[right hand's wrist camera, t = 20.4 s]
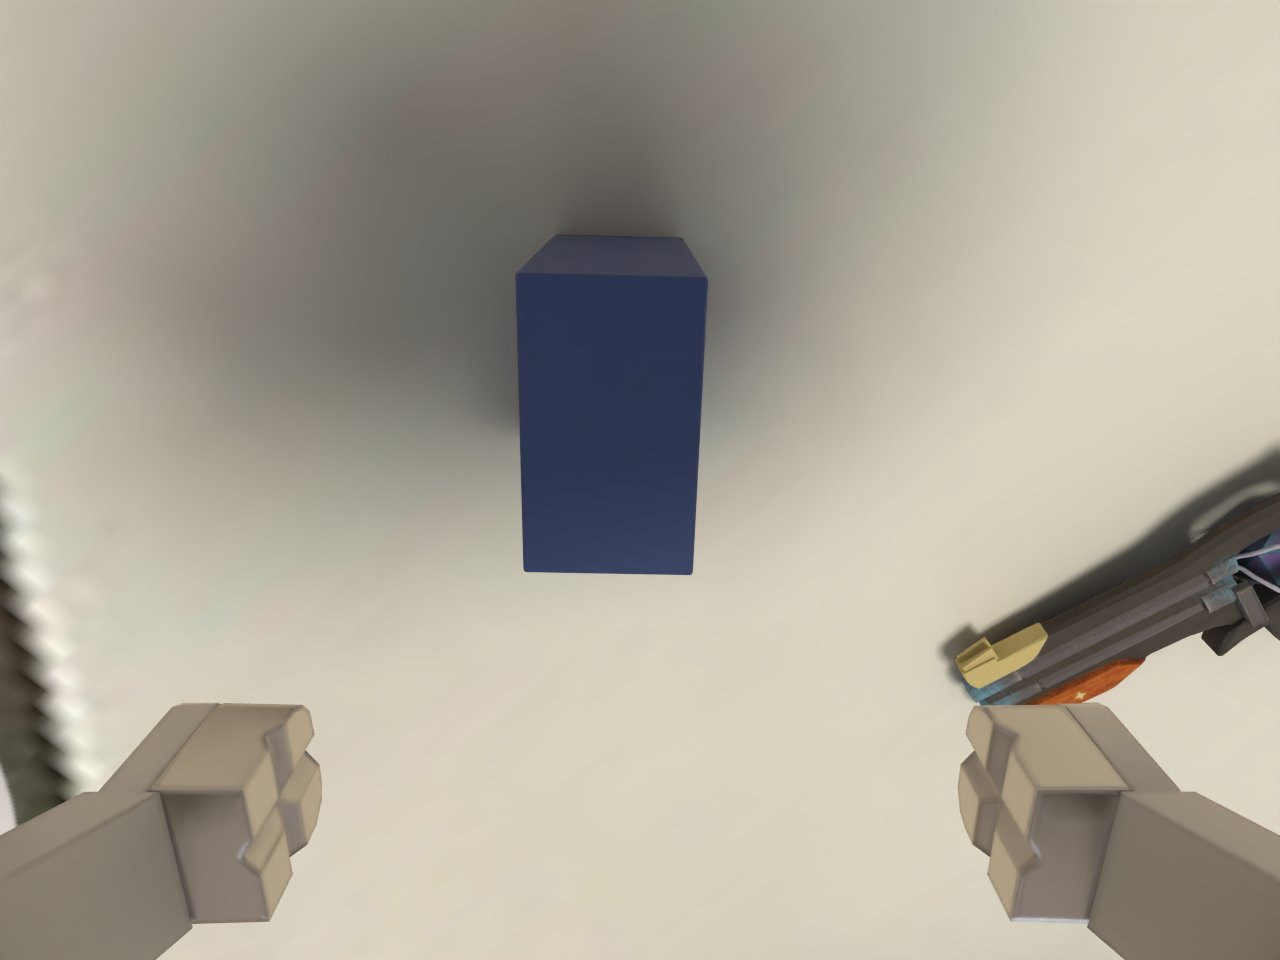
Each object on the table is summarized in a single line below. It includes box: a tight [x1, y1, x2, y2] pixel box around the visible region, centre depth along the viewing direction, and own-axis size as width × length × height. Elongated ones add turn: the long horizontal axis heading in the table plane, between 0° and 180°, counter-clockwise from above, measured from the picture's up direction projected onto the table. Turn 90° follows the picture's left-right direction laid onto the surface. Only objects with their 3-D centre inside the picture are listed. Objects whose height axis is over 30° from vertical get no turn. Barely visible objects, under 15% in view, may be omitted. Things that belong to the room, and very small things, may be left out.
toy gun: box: [955, 493, 1280, 706], centre depth 30 cm, size 3×19×10 cm
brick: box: [516, 235, 708, 575], centre depth 23 cm, size 4×7×10 cm, turn 179°
